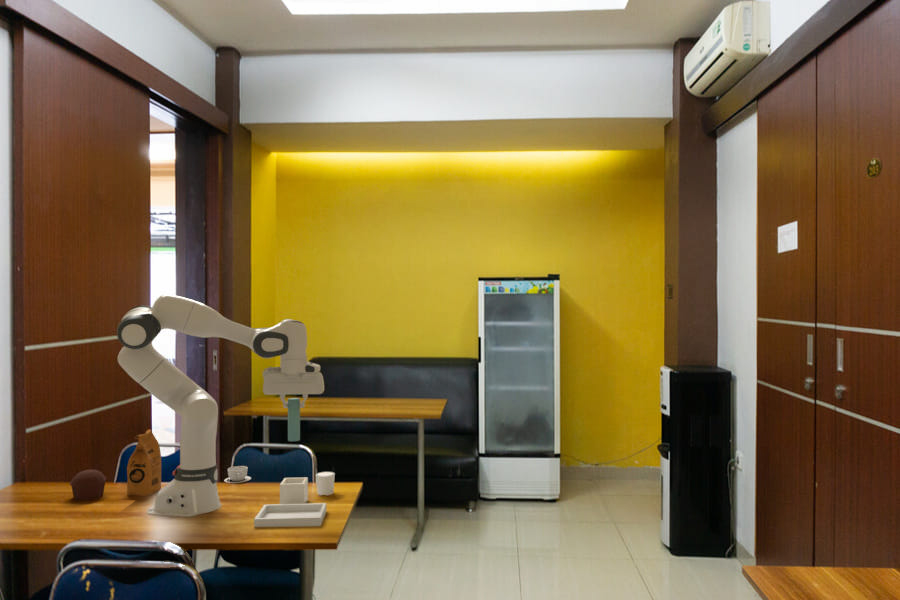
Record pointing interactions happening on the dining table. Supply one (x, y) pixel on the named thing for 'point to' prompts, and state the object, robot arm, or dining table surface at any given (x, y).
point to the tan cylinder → (325, 483)
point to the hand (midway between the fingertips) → (293, 407)
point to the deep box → (294, 491)
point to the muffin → (88, 485)
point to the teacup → (237, 474)
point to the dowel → (293, 419)
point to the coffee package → (144, 466)
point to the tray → (290, 515)
